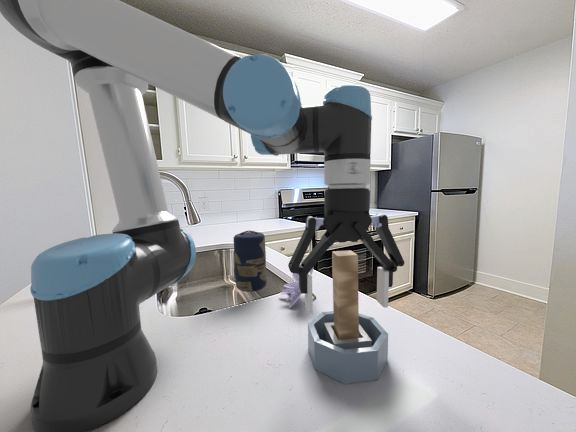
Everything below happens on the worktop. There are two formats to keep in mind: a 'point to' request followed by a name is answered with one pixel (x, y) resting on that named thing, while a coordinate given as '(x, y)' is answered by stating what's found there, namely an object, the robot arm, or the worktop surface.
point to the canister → (250, 261)
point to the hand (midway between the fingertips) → (346, 307)
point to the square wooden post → (345, 294)
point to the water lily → (294, 289)
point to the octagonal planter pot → (348, 349)
